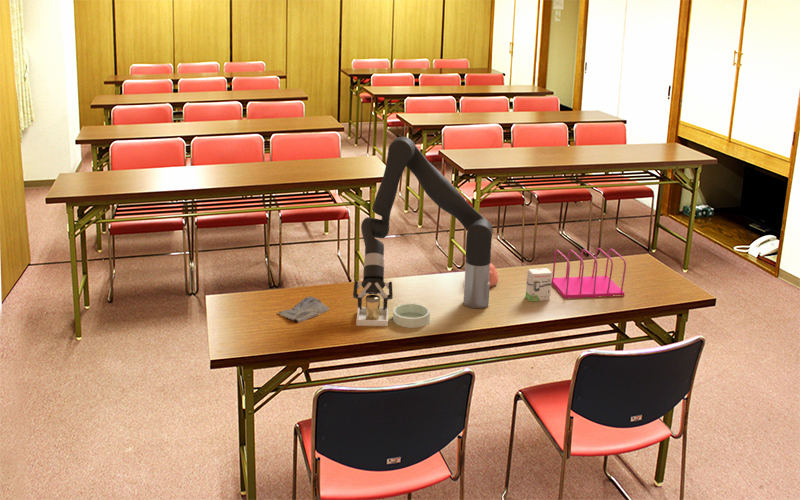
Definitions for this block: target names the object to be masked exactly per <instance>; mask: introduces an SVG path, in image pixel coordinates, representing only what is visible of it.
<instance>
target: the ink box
mask: <svg viewBox="0 0 800 500" xmlns="http://www.w3.org/2000/svg"><path fill="white" fill-rule="evenodd" d="M526 273H527V276H526V285H525V286H526V287H525V295H524V296H525V299H527V301H529V302H538V301H539V302H543V301H550V298H551V289H552V283H551V282H552V277H553V271H551V270H550V269H549V268H546V267H544V268H542V267H541V268H529V269H527V272H526Z"/></svg>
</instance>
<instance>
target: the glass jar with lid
mask: <svg viewBox="0 0 800 500" xmlns="http://www.w3.org/2000/svg"><path fill="white" fill-rule="evenodd" d="M380 301H381V296H380V295H379V294H368V295H365V307H366V320H379V319H380V308H381V305H380V304H381V302H380Z"/></svg>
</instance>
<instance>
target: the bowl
mask: <svg viewBox="0 0 800 500" xmlns="http://www.w3.org/2000/svg"><path fill="white" fill-rule="evenodd" d="M392 311H393V312H392V322H393V323H394V324H396V325H398V326H399V327H403V328H409V329H415V328H417V329H418V328H422V327H425V326H427V324H429V323H430V316H431V315H430V314H431V310H430V308H428V307H427V306H426V305H424V304H421V303H415V302H414V303H411V302H408V303H401V304H399V305H395V307H393V309H392Z"/></svg>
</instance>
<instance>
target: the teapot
mask: <svg viewBox="0 0 800 500" xmlns="http://www.w3.org/2000/svg"><path fill="white" fill-rule="evenodd" d="M489 283H490V288H491V287H494V286H495V285H497V283H499V275H498V271H497V268H496V267H495V266H494V264H493V263H491V262H490V275H489Z"/></svg>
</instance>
